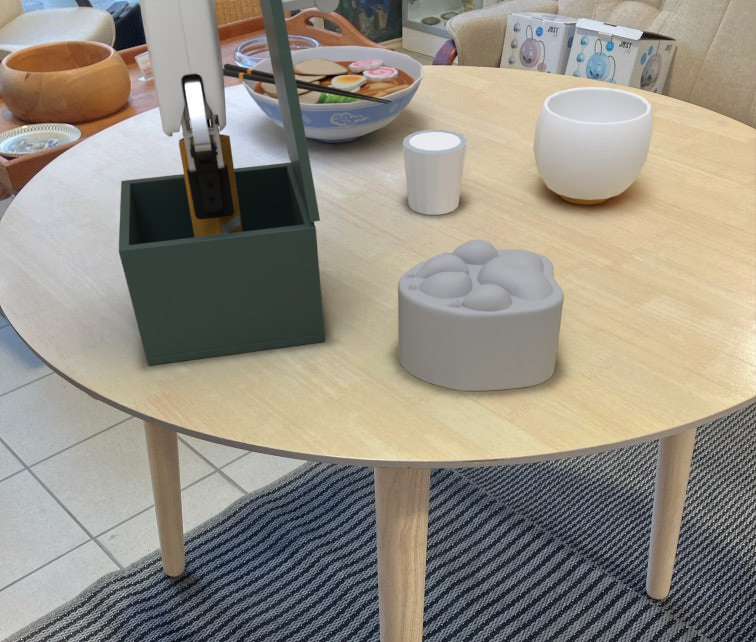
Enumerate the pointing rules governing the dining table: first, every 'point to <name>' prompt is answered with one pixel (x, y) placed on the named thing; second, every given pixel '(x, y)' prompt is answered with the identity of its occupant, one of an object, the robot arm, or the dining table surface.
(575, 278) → the dining table surface
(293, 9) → the lid
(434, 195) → the shot glass
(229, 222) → the supplement box
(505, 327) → the lumpy-topped squat cylinder
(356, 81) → the ramen bowl
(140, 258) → the chest
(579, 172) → the cup
